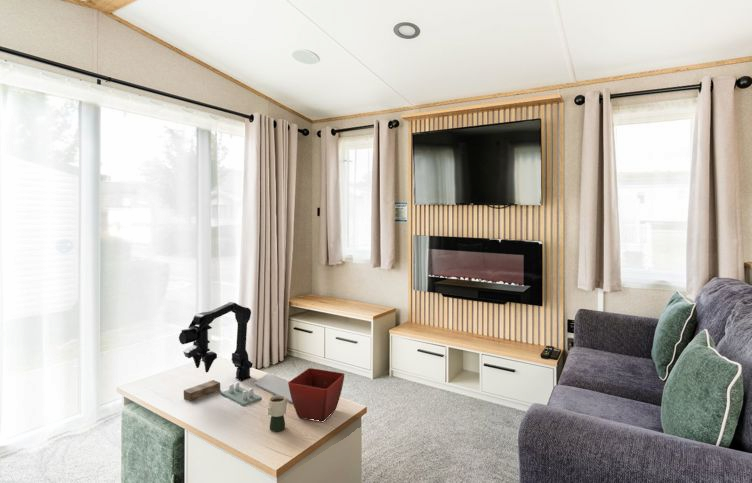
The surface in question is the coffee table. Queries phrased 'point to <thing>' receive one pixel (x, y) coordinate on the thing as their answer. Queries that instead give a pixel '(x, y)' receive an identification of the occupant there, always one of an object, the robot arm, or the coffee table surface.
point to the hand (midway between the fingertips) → (202, 370)
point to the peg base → (241, 395)
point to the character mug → (277, 412)
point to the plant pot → (316, 393)
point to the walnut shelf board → (201, 390)
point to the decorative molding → (274, 385)
